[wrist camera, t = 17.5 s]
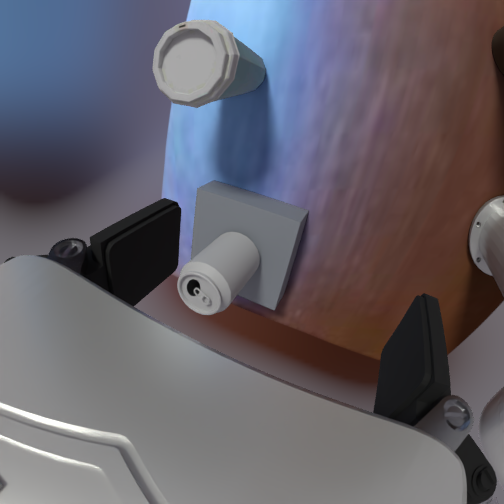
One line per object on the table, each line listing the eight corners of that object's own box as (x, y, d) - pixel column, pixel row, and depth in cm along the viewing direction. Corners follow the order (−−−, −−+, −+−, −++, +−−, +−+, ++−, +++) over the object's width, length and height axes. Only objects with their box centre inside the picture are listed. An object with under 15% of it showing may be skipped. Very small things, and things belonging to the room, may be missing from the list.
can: (228, 219, 43) (181, 256, 33) (270, 249, 43) (234, 295, 33) (210, 255, 48) (166, 295, 38) (248, 282, 47) (211, 329, 37)
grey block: (308, 210, 43) (300, 222, 39) (283, 293, 51) (274, 310, 47) (213, 180, 47) (197, 188, 43) (204, 261, 55) (189, 274, 51)
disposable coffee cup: (280, 105, 38) (231, 104, 25) (212, 108, 41) (146, 114, 29) (277, 36, 33) (228, 6, 20) (210, 45, 37) (144, 30, 24)
